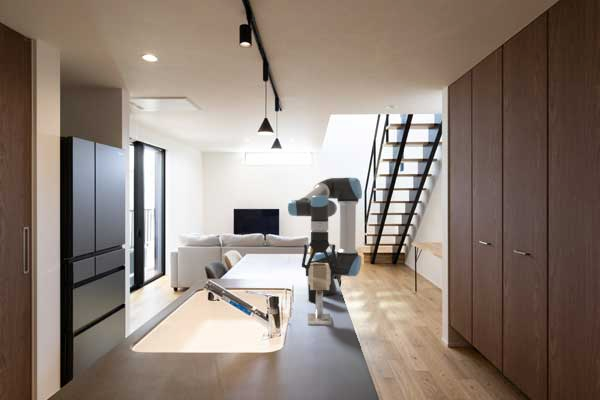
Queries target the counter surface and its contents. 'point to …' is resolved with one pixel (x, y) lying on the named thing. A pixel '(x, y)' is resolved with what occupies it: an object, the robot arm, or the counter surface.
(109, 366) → the counter surface
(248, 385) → the counter surface
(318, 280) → the birch sleeve
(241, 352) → the counter surface
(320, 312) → the post stand
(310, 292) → the travel mug
